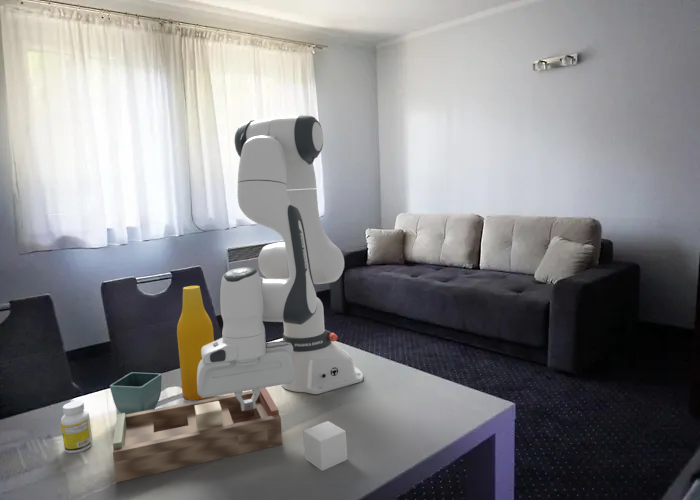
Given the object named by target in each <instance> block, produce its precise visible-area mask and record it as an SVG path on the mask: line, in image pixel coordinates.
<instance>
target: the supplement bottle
mask: <svg viewBox="0 0 700 500" xmlns="http://www.w3.org/2000/svg"><path fill="white" fill-rule="evenodd" d="M62 412H63V416H62V417H61V419H60V426H61V433H62V440H63V447H64V450H65V452H66V454H67V453H68V454H77V453H81V452H83V451H86V450H88V449H89V448H90V447H92V445H93V434H92V427H91V419H90V413H89V411H87V410H86V409H85V402H84V401H82V400H73V401H70V402H68V403H65V404H64V405H63V406H62Z"/></svg>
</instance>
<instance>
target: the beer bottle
mask: <svg viewBox="0 0 700 500" xmlns="http://www.w3.org/2000/svg"><path fill="white" fill-rule="evenodd" d="M203 302H204V301H203V297H202V291H201V288H200V285H189V286H184V287H182V309H181V314H180V317H179V320H178V322H177V325H176V328H177V329H176V337H177V346H178V348H177V349H178V358H179V368H180V380H181V391H182V396H183V397H184V399H186V400H189V401H200V400H205V399H210V397H206V398H202V397H201V396H199V395H198V392H197V371H198V365H199V362H200V361H201V360H202V356H201V349H202V347H203V346H205V345H207V344H209V343H211V342H214V341H215V338H214V336H215V335H214V326H213V322H212V320H211V318H210V316H209V314H208V313H207V311H206V309H205V306H204V303H203Z"/></svg>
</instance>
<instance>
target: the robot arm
mask: <svg viewBox="0 0 700 500" xmlns="http://www.w3.org/2000/svg"><path fill="white" fill-rule="evenodd" d="M323 146H324V133H323V128H322V126H321V123H320V121H318V120H317V118H316V117H314V116H312V115H308V114H307V115H306V114H305V115H304V114H300V115H278V116H273V117H268V118H263V119H259V120H249V121H246V122H243V123H241V124H239V126H238V128H237V129H236V132H235V133H234V147H235V150H236V153H237V155H238V157H239V163H238V173H237V203H238V206H239V209H240V211H241V212H242V213H243V214H244V215H245V216H246V217H247V218H248V219H249V220H250V221H252V222H253V223H256V224H258V225H262V226H264V227H267V228H268V229H271V230H273V231H275V232H276V233H278V235H280V237H282V240H283V241H277V242H272V243H269V244H266V245H264V246H263V247H262V248H261V250H260V252H259V255H258V259H257V261H258V262H257V263H258V264H257V265H258V268H259V270H258V269H256V268H253V267H248V266H244V267H237V268H233V269H230V270H227V272H225V273H223V275H222V277H221V283H220V291H219V292H220V293H219V297H220V298H219V303H220V305H219V306H220V307H219V308H220V315H221V318H222V322H223V323H222V324H223V326H222V329H221V330H222V331H221V332H222V333H221V335H222V336H221V337H220V338H218V339H216V340H214V342H211V343H209V344H207V345H205V346H203V347H202V349H201V356H202V360H201V361H200V362H199V365H198V371H197V392H198V395H199V396H201V397H202V398H206V397H209V398H213V397H215V396H217V397H219V396H225V395H230V394H235V396H236V398H237V399H238V400H239V402H240V403H241V410H242V411H246V410H251V409H256V403H255V401H256V400H257V398H258V396H259V394H260V388H269V387H276V386H277V387H278V386H282V387H283V388H284V389H285V390H288V391H289V392H290V391H292V392H298V393H308V394H311V395H319V394H324V393H327V392H330V391H333V390H336V389H337V390H338V389H341V388H344V387H347V386H350V385H353V384H357V383H360V382H362V381H363V379H364V374H363V372H362V371H361V370H360V369H359V367H357V366H355V364H354V361H353V358H352V356H351V355H350V354H349V353H348V352H347V351H346V350H344V349H343V348H342V347H340V346H339V345H337V344H336V343H334V342H337V340H338V335H337V334H336V333H335V332H331V331H330V330H327V329H325V314H324V305H323V302H322V300H321V299H320V298H319V297H317V291H316V287H315V285H321V284H322V285H323V284H330V283H335V282H337V280H339V279H340V277H341V276H342V274H343V271H344V269H345V258H344V255H343V251H342V250H341V249H340V248H339V247H338V246H337V245H336V244H334V242H333V241H332V240H331V239H330V237H328V234H327V233H326V231H325V229H324V227H323V225H322V221H321V218H320V213H319V211H320V210H319V204H318V203H319V201H318V190H317V179H316V173H315V172H316V171H315V167H314V161H315V159H317V158H318V157H319V155H320V153H321V152H322V149H323ZM260 274H262V277H261V276H260ZM263 276H264V277H263ZM264 322H266V323H267V322H271V323H272V322H273V323H278V322H279V323H283V333H282V340H279V341H270V342H266V328H265V324H264ZM248 391H253V395H252V397H251V399H248V400H243V399H242V397H241V396H243V392H248ZM206 399H207V398H206Z"/></svg>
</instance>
